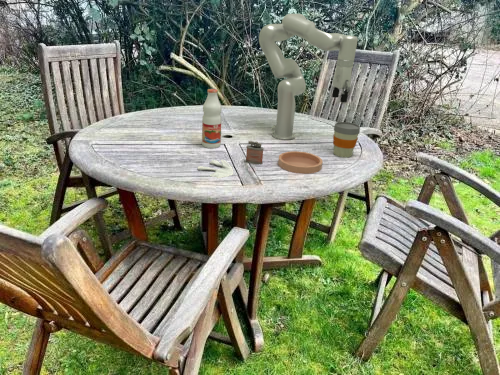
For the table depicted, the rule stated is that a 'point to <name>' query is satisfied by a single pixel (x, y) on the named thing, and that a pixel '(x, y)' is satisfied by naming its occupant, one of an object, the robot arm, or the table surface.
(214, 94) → the fruit juice
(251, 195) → the table surface
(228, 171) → the cream glove
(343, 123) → the reusable coffee cup
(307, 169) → the round bowl
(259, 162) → the lighter
